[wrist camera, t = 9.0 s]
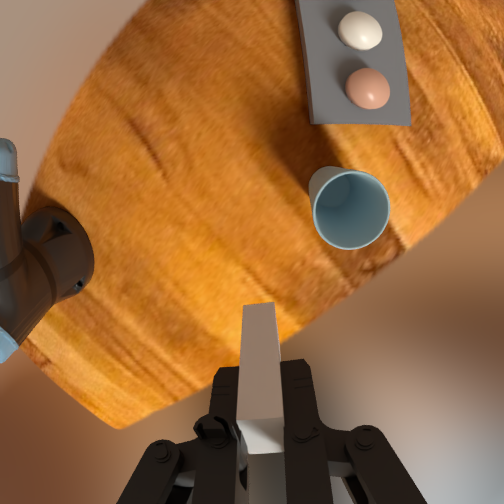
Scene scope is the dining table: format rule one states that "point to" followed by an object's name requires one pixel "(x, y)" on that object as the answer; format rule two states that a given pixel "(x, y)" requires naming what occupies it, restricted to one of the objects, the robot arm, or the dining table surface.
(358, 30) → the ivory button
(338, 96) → the gray rectangular slab
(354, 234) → the cup
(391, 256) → the dining table surface
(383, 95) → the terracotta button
